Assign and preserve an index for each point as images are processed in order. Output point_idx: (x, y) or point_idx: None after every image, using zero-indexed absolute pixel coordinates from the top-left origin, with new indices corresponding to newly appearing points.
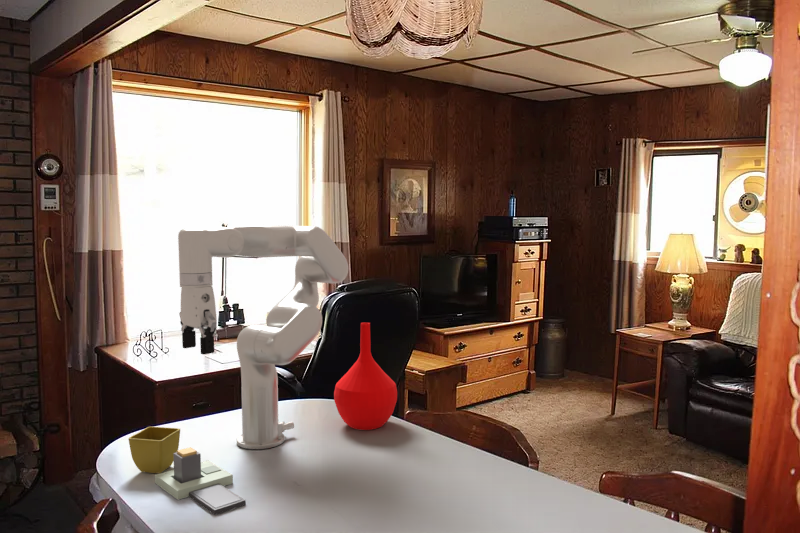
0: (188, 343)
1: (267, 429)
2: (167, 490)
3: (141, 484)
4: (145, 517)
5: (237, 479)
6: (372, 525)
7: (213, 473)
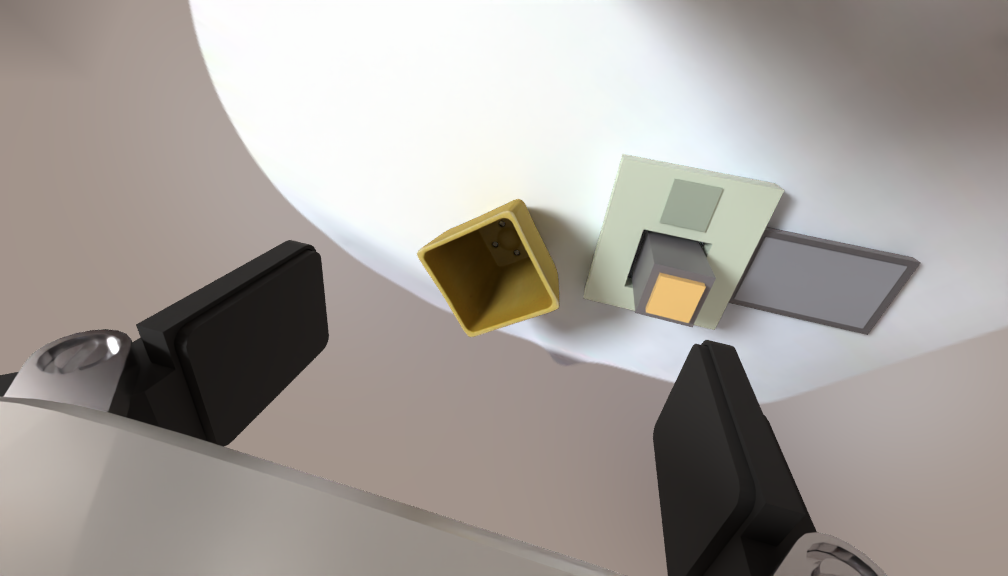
0: (301, 332)
1: None
2: None
3: (563, 305)
4: None
5: (767, 155)
6: None
7: (718, 216)
